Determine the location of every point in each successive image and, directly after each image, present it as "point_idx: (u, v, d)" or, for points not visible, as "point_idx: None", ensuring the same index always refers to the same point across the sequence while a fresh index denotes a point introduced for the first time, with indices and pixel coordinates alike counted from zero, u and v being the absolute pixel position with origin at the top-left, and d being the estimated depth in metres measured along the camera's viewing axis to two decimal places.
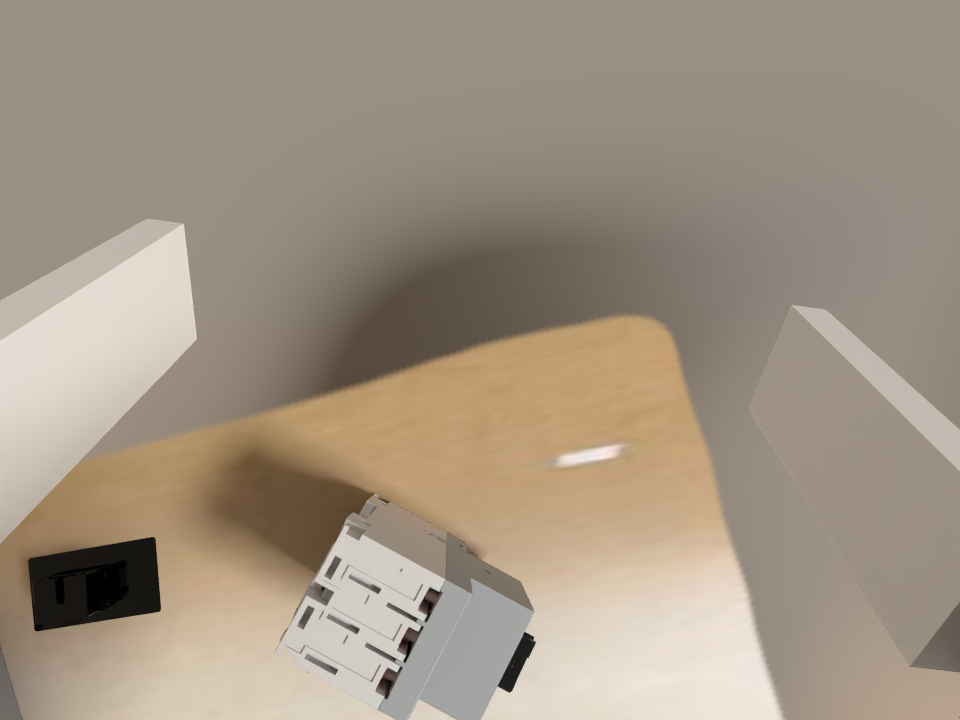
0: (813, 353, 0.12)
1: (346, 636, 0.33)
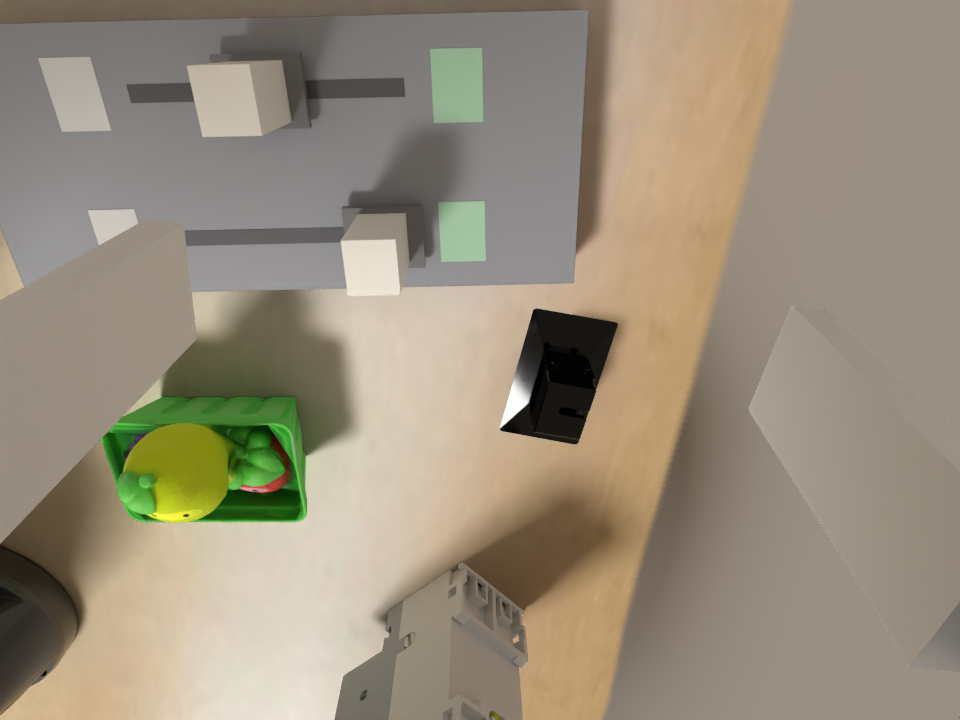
0: (813, 353, 0.12)
1: None
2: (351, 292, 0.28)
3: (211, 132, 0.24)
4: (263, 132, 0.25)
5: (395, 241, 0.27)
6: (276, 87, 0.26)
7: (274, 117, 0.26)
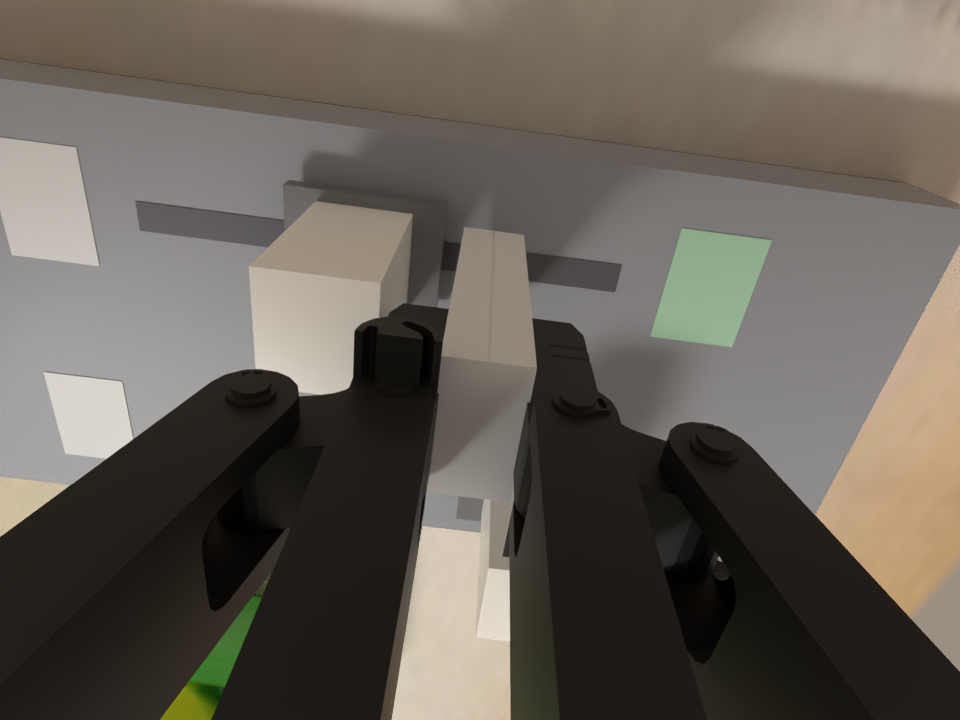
0: None
1: None
2: (483, 633, 0.16)
3: None
4: None
5: None
6: (401, 275, 0.14)
7: None
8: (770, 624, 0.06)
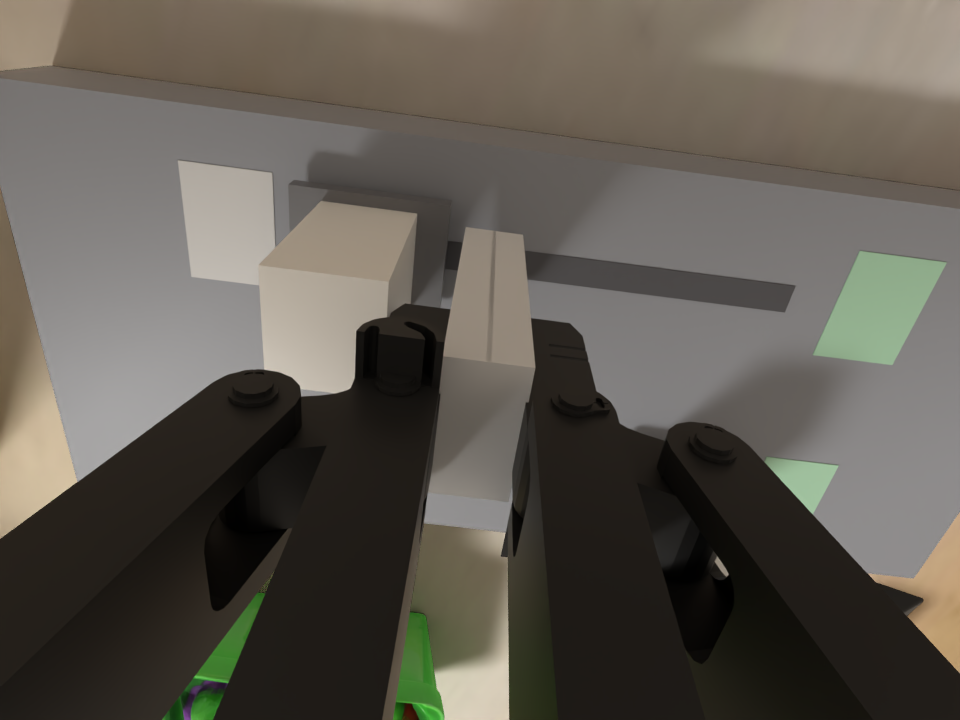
0: None
1: None
2: None
3: None
4: None
5: None
6: (406, 274, 0.14)
7: None
8: (768, 624, 0.06)
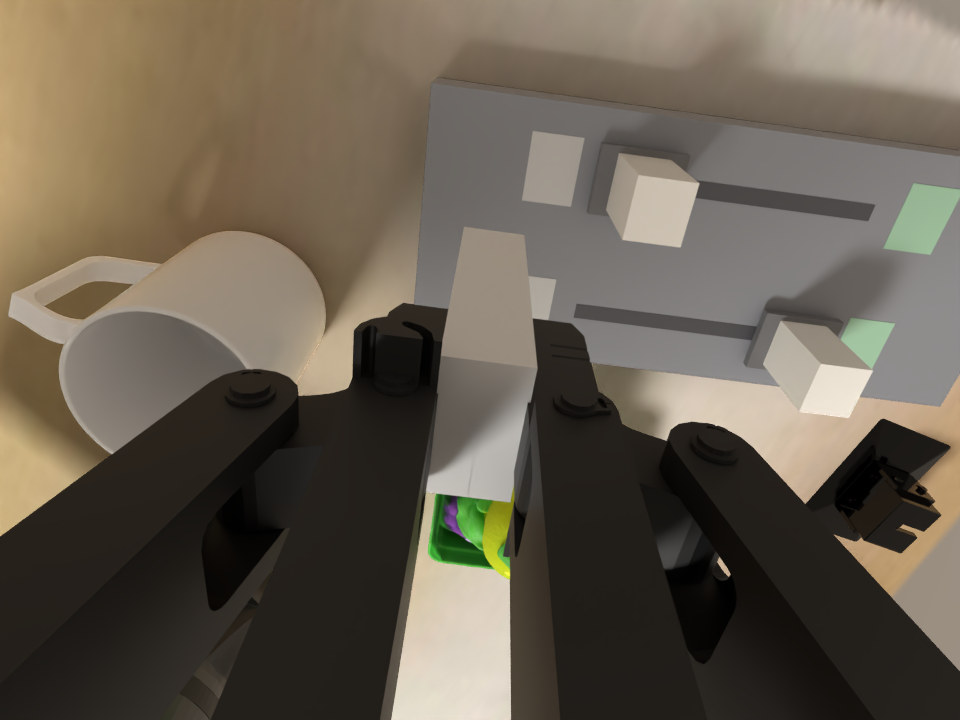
0: None
1: None
2: (804, 409, 0.28)
3: (633, 237, 0.25)
4: None
5: (870, 371, 0.27)
6: None
7: None
8: (771, 624, 0.06)
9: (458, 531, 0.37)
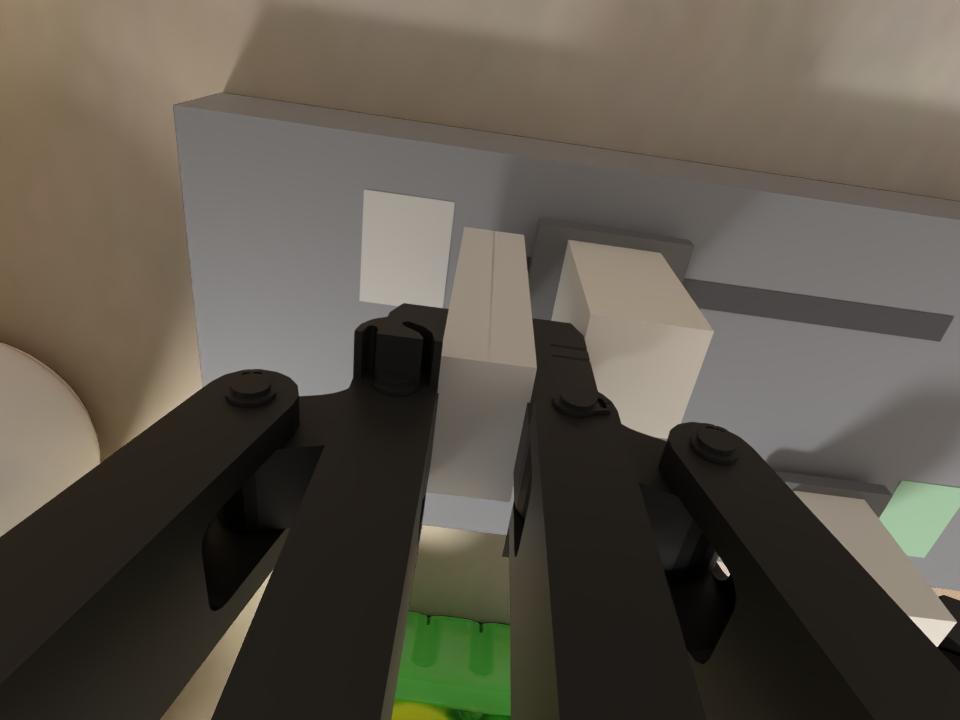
0: None
1: None
2: None
3: None
4: None
5: (951, 622, 0.15)
6: None
7: None
8: (770, 624, 0.06)
9: None
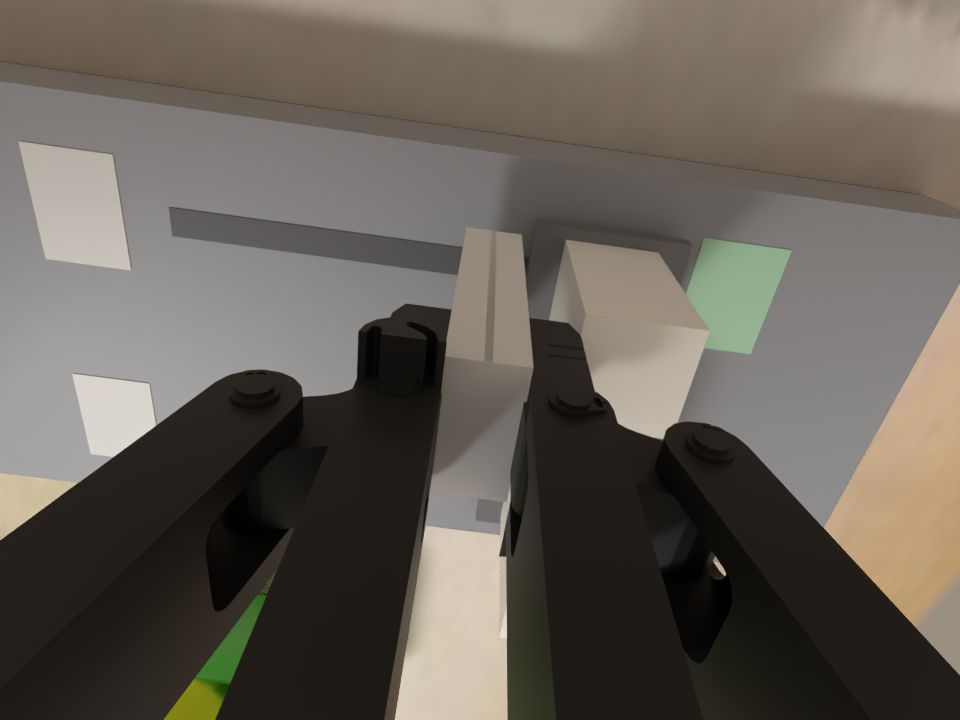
0: None
1: None
2: None
3: None
4: None
5: None
6: None
7: None
8: (766, 624, 0.06)
9: None
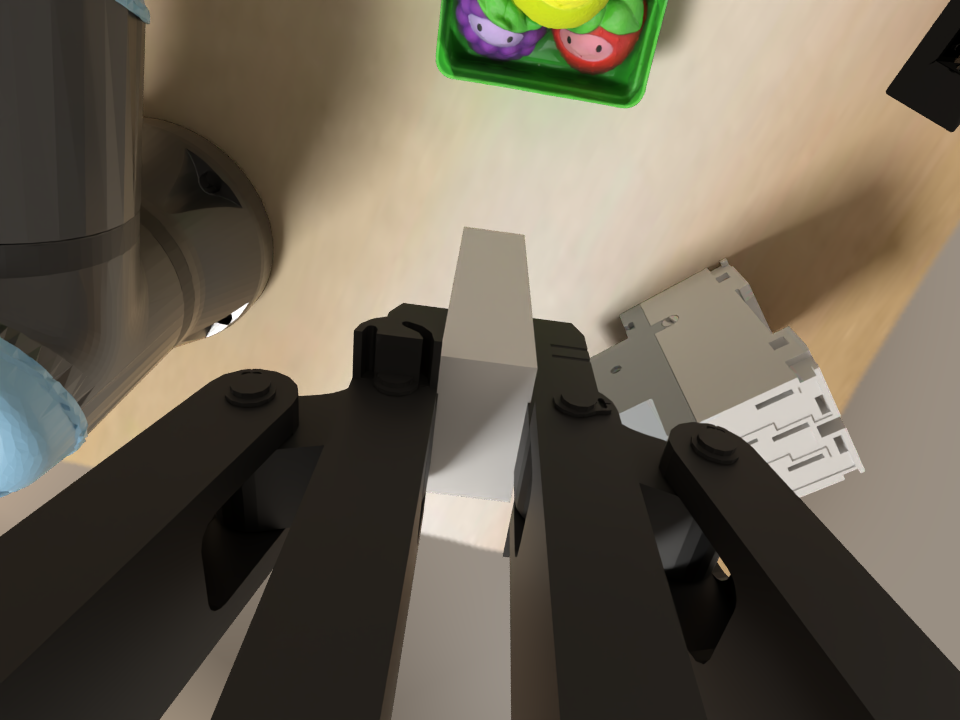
0: None
1: (776, 427, 0.31)
2: None
3: None
4: None
5: None
6: None
7: None
8: (770, 624, 0.06)
9: (473, 3, 0.30)
